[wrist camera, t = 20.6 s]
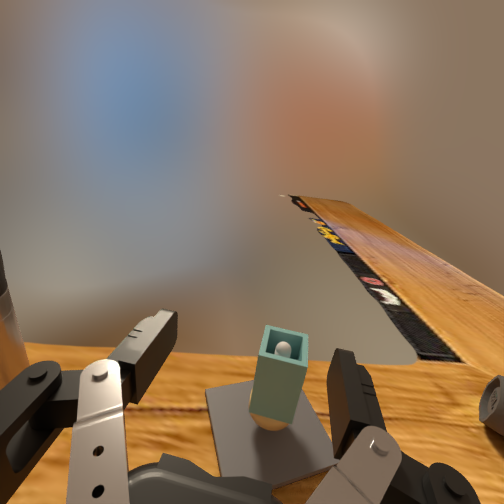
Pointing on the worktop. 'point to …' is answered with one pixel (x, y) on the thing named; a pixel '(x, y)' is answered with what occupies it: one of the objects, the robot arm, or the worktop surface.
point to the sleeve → (279, 375)
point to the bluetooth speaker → (493, 405)
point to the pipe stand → (266, 437)
